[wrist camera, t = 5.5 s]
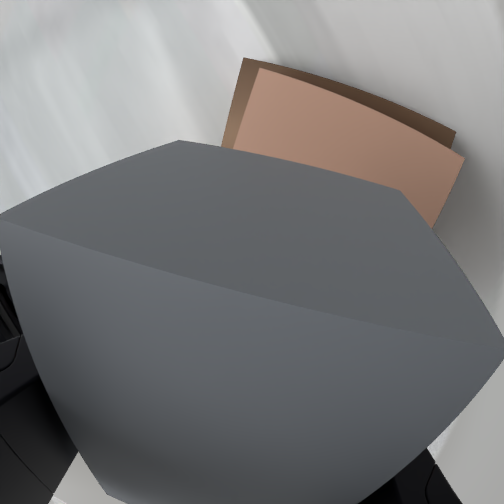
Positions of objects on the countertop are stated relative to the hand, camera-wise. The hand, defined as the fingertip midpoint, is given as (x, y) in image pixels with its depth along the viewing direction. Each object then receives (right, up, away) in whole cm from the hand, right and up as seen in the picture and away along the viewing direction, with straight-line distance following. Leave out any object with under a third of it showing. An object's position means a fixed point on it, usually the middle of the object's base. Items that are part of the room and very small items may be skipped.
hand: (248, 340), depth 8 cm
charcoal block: (0, +1, +1) cm, 1 cm away
